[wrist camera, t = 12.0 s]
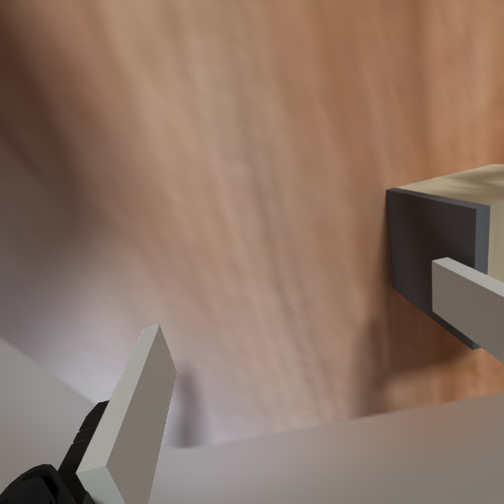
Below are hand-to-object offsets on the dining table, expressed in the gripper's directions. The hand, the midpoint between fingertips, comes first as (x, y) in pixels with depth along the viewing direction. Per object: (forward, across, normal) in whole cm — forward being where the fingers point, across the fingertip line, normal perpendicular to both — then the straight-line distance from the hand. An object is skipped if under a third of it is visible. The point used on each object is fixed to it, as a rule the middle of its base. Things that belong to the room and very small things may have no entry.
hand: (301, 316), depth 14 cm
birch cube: (+2, +8, 0) cm, 8 cm away
